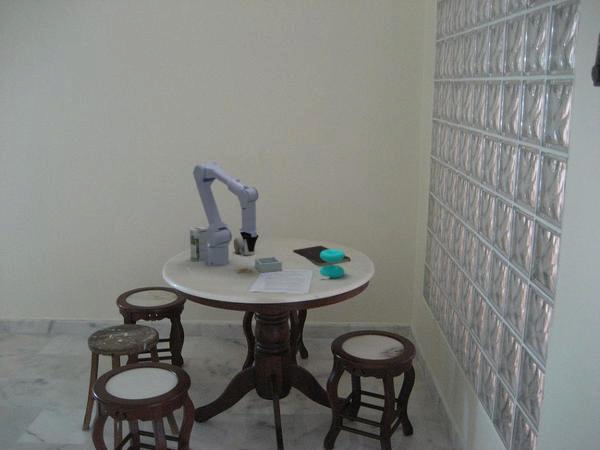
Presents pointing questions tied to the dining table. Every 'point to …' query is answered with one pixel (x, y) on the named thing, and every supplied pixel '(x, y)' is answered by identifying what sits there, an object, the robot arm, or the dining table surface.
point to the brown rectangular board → (242, 271)
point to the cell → (247, 249)
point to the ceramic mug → (239, 246)
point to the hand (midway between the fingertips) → (249, 250)
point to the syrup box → (198, 243)
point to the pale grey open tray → (268, 264)
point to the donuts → (332, 256)
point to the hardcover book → (317, 255)
